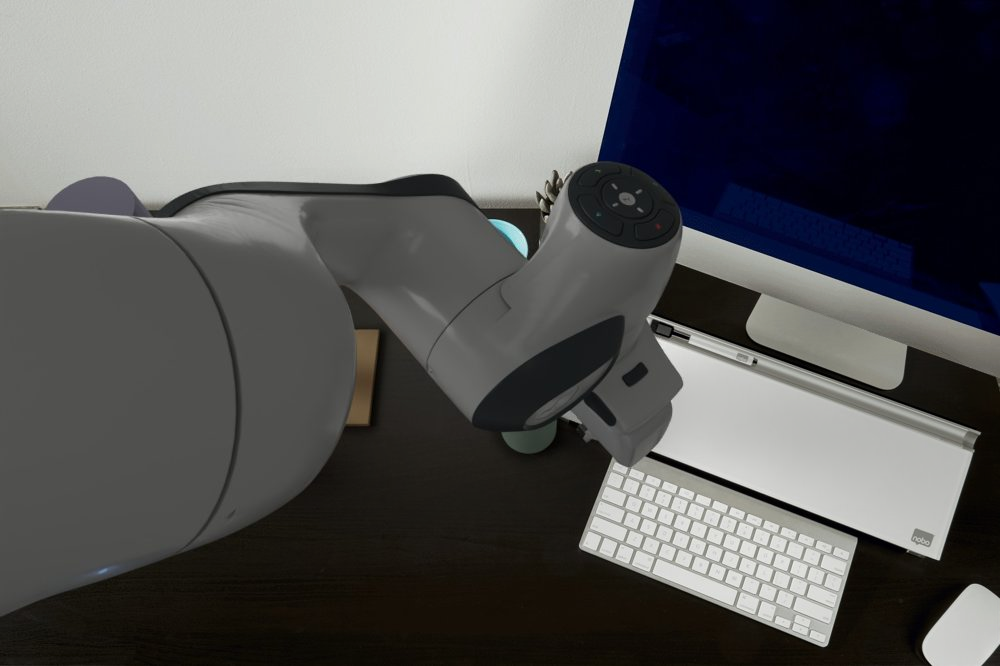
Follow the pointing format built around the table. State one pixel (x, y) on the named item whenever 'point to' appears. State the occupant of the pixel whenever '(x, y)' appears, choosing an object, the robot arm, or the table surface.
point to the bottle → (531, 439)
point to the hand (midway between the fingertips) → (553, 395)
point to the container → (99, 198)
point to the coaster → (364, 377)
